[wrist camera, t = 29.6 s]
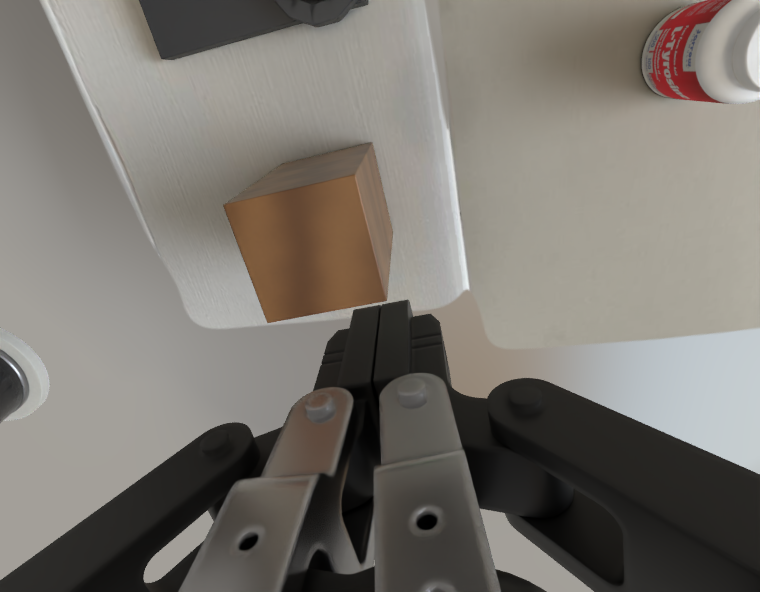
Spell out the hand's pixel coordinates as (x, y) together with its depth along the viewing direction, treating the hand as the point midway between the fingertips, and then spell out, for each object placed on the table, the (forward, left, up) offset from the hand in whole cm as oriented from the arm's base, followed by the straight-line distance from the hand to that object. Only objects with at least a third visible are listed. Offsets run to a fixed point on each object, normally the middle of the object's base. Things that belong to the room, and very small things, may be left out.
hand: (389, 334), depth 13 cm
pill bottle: (+22, +3, -29) cm, 37 cm away
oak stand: (-6, -2, -29) cm, 30 cm away
